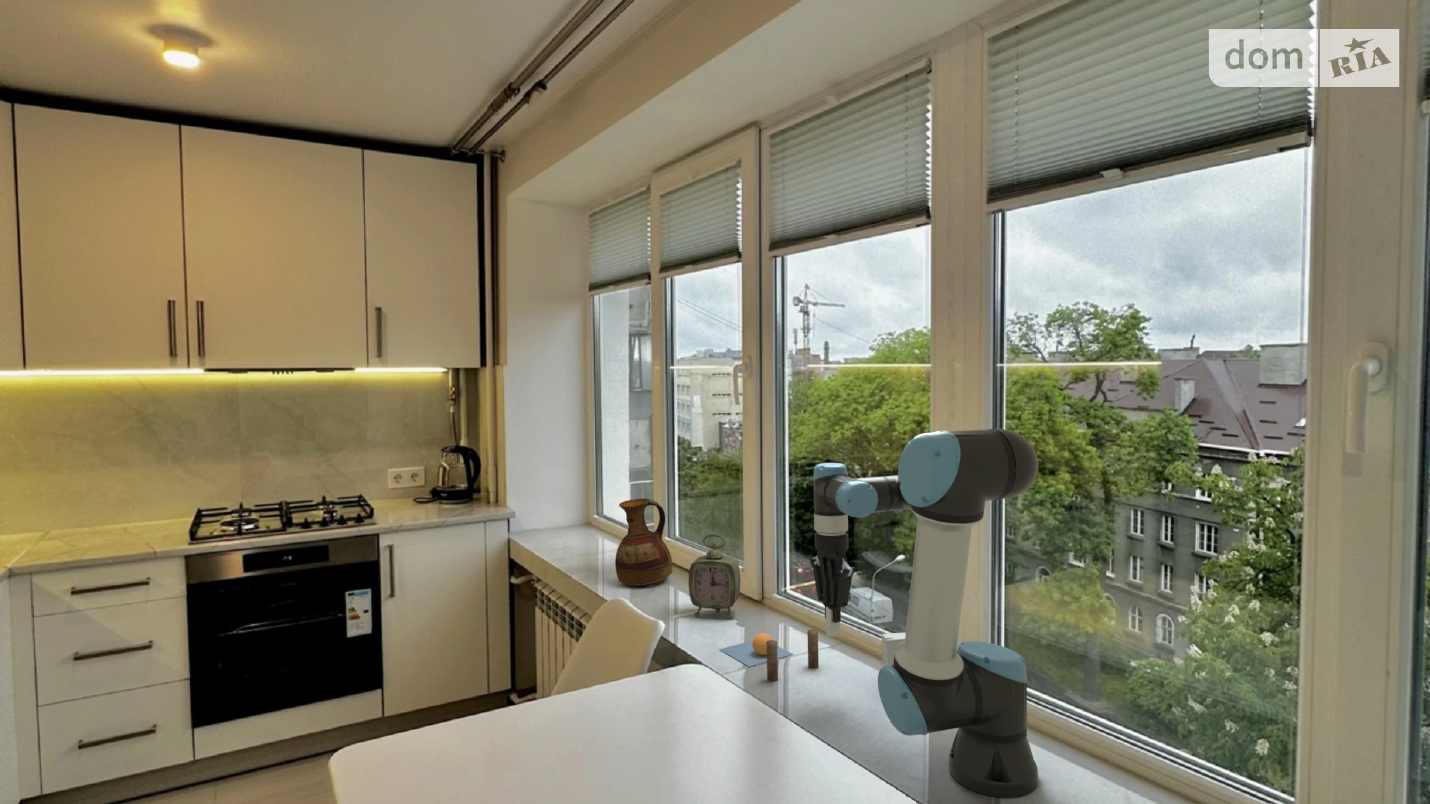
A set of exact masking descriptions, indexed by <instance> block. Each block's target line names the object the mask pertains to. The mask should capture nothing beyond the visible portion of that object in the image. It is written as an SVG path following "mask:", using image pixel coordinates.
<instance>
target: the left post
mask: <svg viewBox="0 0 1430 804" xmlns="http://www.w3.org/2000/svg"><path fill="white" fill-rule="evenodd" d="M766 645H767V662H766V679H767V681H769V682H776V681H778V680H779V665H778V664H779V663H778V662H779V661H778V660H779V659H778V653H777V646H778V641H777V640H774V639H772V640H769V641H767V642H766Z"/></svg>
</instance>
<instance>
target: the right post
mask: <svg viewBox="0 0 1430 804" xmlns="http://www.w3.org/2000/svg"><path fill="white" fill-rule="evenodd" d="M819 659H820V658H819V630H817V629H814V628H813V629H808V630H807V668H808V669H810V668H811V669H810V670H817V669H819V667H820V666H819V661H820V660H819Z"/></svg>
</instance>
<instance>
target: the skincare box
mask: <svg viewBox="0 0 1430 804" xmlns="http://www.w3.org/2000/svg"><path fill="white" fill-rule="evenodd" d="M905 634H906V632H895V633H881V649H882V650H881V653H882V654H881V656H882V657H881V658H882V668H883V667H885V666H886V665H893V662H894V653H895V649H896V647H897V646H898V645H899V644H900V643H902V642H904V641H905Z"/></svg>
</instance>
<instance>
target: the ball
mask: <svg viewBox="0 0 1430 804" xmlns="http://www.w3.org/2000/svg"><path fill="white" fill-rule="evenodd" d="M769 640H773V638H772V637H771V636H770V635H769V634H767V633H764V632H763V633H762V632H761V633H758V634H757V635H755V636H754V637H753V640H752V641H753V643H752V646H753V649H754V651H755V652H756V653H757V654H759V655H762V656H763V655H767V645H766V642H767V641H769Z"/></svg>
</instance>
